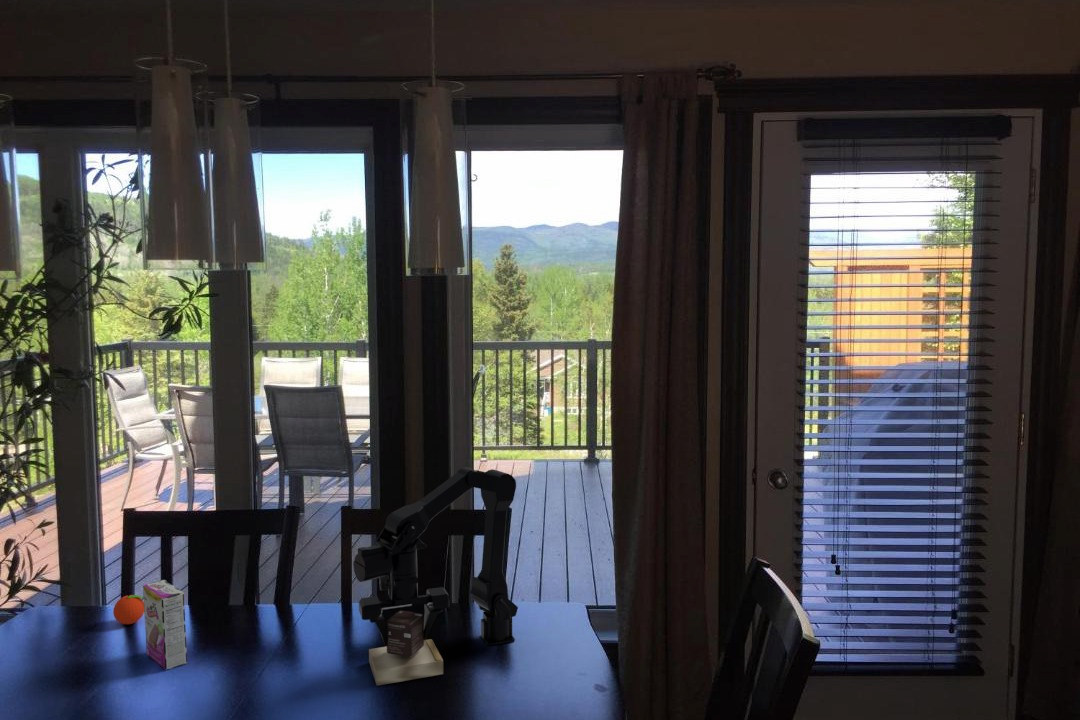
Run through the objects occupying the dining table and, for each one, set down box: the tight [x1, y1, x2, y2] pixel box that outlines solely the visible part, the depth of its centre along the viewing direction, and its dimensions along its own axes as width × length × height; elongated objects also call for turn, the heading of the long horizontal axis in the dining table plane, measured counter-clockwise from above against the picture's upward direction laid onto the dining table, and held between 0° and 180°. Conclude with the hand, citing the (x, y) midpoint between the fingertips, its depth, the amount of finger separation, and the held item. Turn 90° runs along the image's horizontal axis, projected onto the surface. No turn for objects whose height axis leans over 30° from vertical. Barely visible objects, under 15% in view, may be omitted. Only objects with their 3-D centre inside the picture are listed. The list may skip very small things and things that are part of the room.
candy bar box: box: [142, 579, 188, 671], centre depth 172 cm, size 11×5×16 cm, turn 47°
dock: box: [368, 638, 444, 686], centre depth 168 cm, size 14×11×3 cm
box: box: [385, 609, 425, 657], centre depth 167 cm, size 6×6×7 cm
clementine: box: [112, 594, 145, 625], centre depth 192 cm, size 8×7×7 cm
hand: (405, 641), depth 168 cm, fingers open, 8 cm apart
